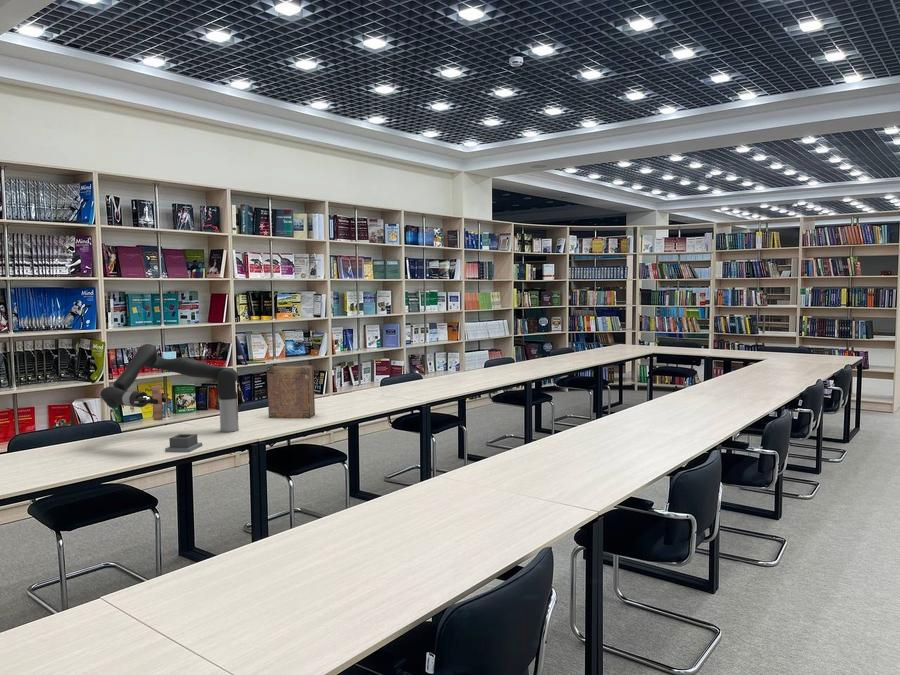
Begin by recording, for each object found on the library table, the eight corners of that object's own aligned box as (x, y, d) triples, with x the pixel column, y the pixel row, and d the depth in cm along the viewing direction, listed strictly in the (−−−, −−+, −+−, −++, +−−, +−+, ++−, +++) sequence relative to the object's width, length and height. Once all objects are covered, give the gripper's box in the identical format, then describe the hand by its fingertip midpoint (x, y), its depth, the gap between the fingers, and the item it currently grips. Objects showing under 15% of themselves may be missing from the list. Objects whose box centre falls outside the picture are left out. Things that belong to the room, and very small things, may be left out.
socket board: (178, 445, 309) (178, 433, 309) (202, 445, 308) (201, 433, 308) (165, 451, 298) (164, 439, 297) (189, 452, 296) (189, 439, 296)
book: (315, 415, 381) (313, 365, 378) (309, 418, 371) (308, 367, 369) (274, 414, 384) (273, 365, 382) (268, 417, 375) (266, 367, 373)
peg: (156, 418, 301) (154, 385, 300) (164, 418, 301) (162, 385, 299) (151, 420, 297) (149, 386, 296) (159, 420, 297) (158, 386, 296)
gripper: (148, 404, 311) (174, 406, 304) (122, 409, 298) (149, 411, 291) (147, 388, 310) (173, 390, 303) (121, 393, 297) (148, 395, 290)
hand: (161, 400), depth 297 cm, fingers closed on peg, 4 cm apart
